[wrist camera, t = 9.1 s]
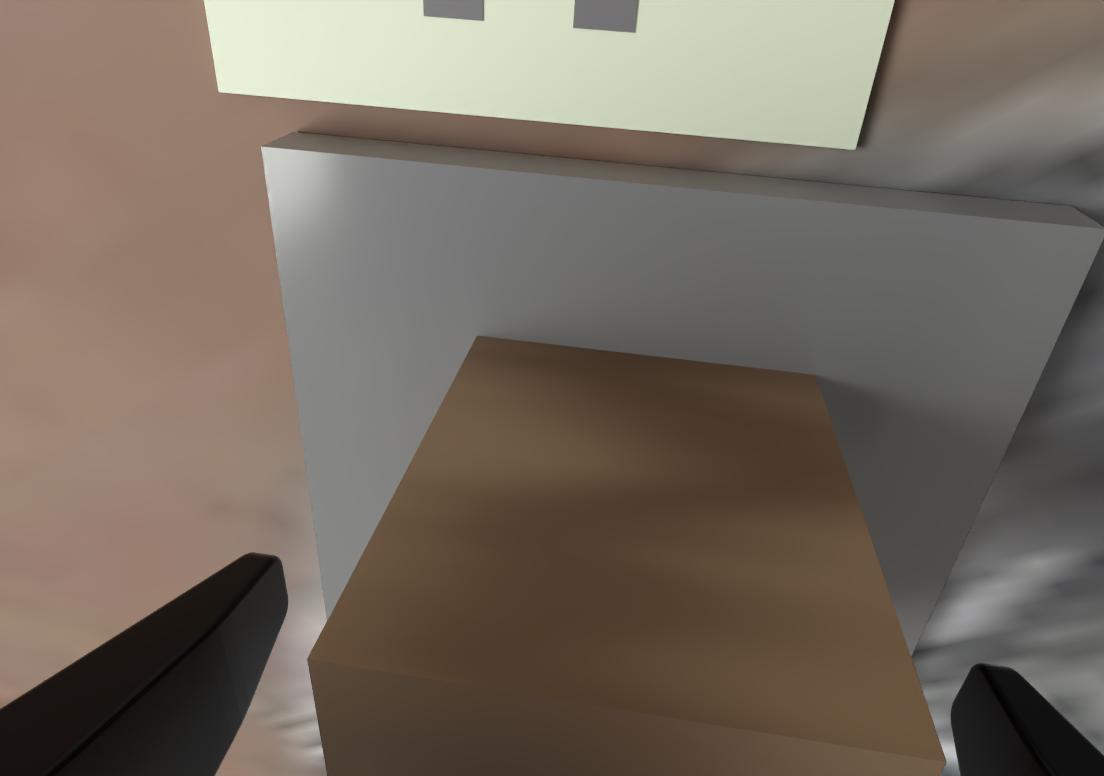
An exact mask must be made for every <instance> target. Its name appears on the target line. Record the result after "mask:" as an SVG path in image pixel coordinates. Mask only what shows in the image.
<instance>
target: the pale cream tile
mask: <svg viewBox="0 0 1104 776" xmlns="http://www.w3.org/2000/svg"><path fill="white" fill-rule="evenodd" d="M894 1H895V0H204V3H205V9H206V16H207V22H208V28H209V34H210V40H211V46H212V53H213V59H214V65H215V71H216V77H217V83H218V90H219V92H224V93H235V94H246V95H257V96H268V97H279V98H290V99H301V100H312V101H323V102H334V103H345V104H356V105H367V106H378V107H389V108H400V109H411V110H422V111H433V112H444V113H455V114H466V115H477V116H488V117H499V118H510V119H521V120H532V121H543V122H554V123H565V124H576V125H587V126H598V127H609V128H620V129H631V130H642V131H653V132H664V133H675V134H686V135H697V136H708V137H719V138H730V139H741V140H752V141H763V142H774V143H785V144H796V145H807V146H818V147H829V148H840V149H851V150H855V149H856V145H857V142H858V138H859V134H860V130H861V127H862V123H863V119H864V115H865V111H866V108H867V104H868V100H869V96H870V92H871V89H872V85H873V81H874V77H875V73H876V70H877V66H878V62H879V58H880V55H881V51H882V47H883V43H884V39H885V36H886V32H887V28H888V24H889V20H890V17H891V13H892V9H893V5H894Z"/></svg>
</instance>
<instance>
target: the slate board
mask: <svg viewBox="0 0 1104 776" xmlns="http://www.w3.org/2000/svg"><path fill="white" fill-rule="evenodd" d="M261 149H262V156H263V163H264V170H265V177H266V185H267V192H268V199H269V206H270V213H271V221H272V228H273V235H274V242H275V249H276V256H277V264H278V271H279V278H280V285H281V292H282V300H283V307H284V314H285V321H286V328H287V336H288V343H289V350H290V357H291V364H292V371H293V379H294V386H295V393H296V400H297V407H298V415H299V422H300V429H301V436H302V443H303V451H304V458H305V465H306V472H307V479H308V486H309V494H310V501H311V508H312V515H313V522H314V530H315V537H316V544H317V551H318V558H319V566H320V573H321V580H322V587H323V594H324V601H325V609H326V616H327V621H328V619H329V617H330V615H331V613H332V611H333V609H334V607H335V605H336V603H337V602H338V600H339V598H340V596H341V594H342V592H343V590H344V588H345V586H346V584H347V582H348V581H349V579H350V577H351V575H352V573H353V571H354V569H355V567H356V565H357V563H358V561H359V560H360V558H361V556H362V554H363V552H364V550H365V548H366V546H367V544H368V542H369V541H370V539H371V537H372V535H373V533H374V531H375V529H376V527H377V525H378V523H379V521H380V520H381V518H382V516H383V514H384V512H385V510H386V508H387V506H388V504H389V502H390V500H391V499H392V497H393V495H394V493H395V491H396V489H397V487H398V485H399V483H400V481H401V480H402V478H403V476H404V474H405V472H406V470H407V468H408V466H409V464H410V462H411V460H412V459H413V457H414V455H415V453H416V451H417V449H418V447H419V445H420V443H421V441H422V439H423V438H424V436H425V434H426V432H427V430H428V428H429V426H430V424H431V422H432V420H433V418H434V417H435V415H436V413H437V411H438V409H439V407H440V405H441V403H442V401H443V399H444V398H445V396H446V394H447V392H448V390H449V388H450V386H451V384H452V382H453V380H454V378H455V377H456V375H457V373H458V371H459V369H460V367H461V365H462V363H463V361H464V359H465V357H466V356H467V354H468V352H469V350H470V348H471V346H472V344H473V342H474V340H475V338H476V336H484V337H493V338H501V339H510V340H519V341H527V342H536V343H545V344H553V345H562V346H571V347H579V348H588V349H597V350H606V351H614V352H623V353H632V354H640V355H649V356H658V357H666V358H675V359H684V360H692V361H701V362H710V363H718V364H727V365H736V366H744V367H753V368H762V369H770V370H779V371H788V372H797V373H805V374H814V375H816V378H817V381H818V384H819V387H820V390H821V393H822V396H823V399H824V402H825V405H826V408H827V411H828V413H829V416H830V419H831V422H832V425H833V428H834V431H835V434H836V437H837V440H838V443H839V446H840V449H841V452H842V455H843V458H844V461H845V464H846V467H847V470H848V473H849V475H850V478H851V481H852V484H853V487H854V490H855V493H856V496H857V499H858V502H859V505H860V508H861V511H862V514H863V517H864V520H865V523H866V526H867V529H868V532H869V534H870V537H871V540H872V543H873V546H874V549H875V552H876V555H877V558H878V561H879V564H880V567H881V570H882V573H883V576H884V579H885V582H886V585H887V588H888V591H889V594H890V596H891V599H892V602H893V605H894V608H895V611H896V614H897V617H898V620H899V623H900V626H901V629H902V632H903V635H904V638H905V641H906V644H907V647H908V650H909V653H910V655H911V656H912V654H913V652H914V650H915V648H916V646H917V643H918V641H919V639H920V637H921V635H922V632H923V630H924V628H925V626H926V624H927V622H928V619H929V617H930V615H931V613H932V611H933V609H934V606H935V604H936V602H937V600H938V598H939V596H940V593H941V591H942V589H943V587H944V585H945V582H946V580H947V578H948V576H949V574H950V572H951V569H952V567H953V565H954V563H955V561H956V559H957V556H958V554H959V552H960V550H961V548H962V546H963V543H964V541H965V539H966V537H967V535H968V532H969V530H970V528H971V526H972V524H973V522H974V519H975V517H976V515H977V513H978V511H979V509H980V506H981V504H982V502H983V500H984V498H985V496H986V493H987V491H988V489H989V487H990V485H991V482H992V480H993V478H994V476H995V474H996V472H997V469H998V467H999V465H1000V463H1001V461H1002V459H1003V456H1004V454H1005V452H1006V450H1007V448H1008V446H1009V443H1010V441H1011V439H1012V437H1013V435H1014V432H1015V430H1016V428H1017V426H1018V424H1019V422H1020V419H1021V417H1022V415H1023V413H1024V411H1025V409H1026V406H1027V404H1028V402H1029V400H1030V398H1031V396H1032V393H1033V391H1034V389H1035V387H1036V385H1037V382H1038V380H1039V378H1040V376H1041V374H1042V372H1043V369H1044V367H1045V365H1046V363H1047V361H1048V359H1049V356H1050V354H1051V352H1052V350H1053V348H1054V346H1055V343H1056V341H1057V339H1058V337H1059V335H1060V332H1061V330H1062V328H1063V326H1064V324H1065V322H1066V319H1067V317H1068V315H1069V313H1070V311H1071V309H1072V306H1073V304H1074V302H1075V300H1076V298H1077V296H1078V293H1079V291H1080V289H1081V287H1082V285H1083V282H1084V280H1085V278H1086V276H1087V274H1088V272H1089V269H1090V267H1091V265H1092V263H1093V261H1094V259H1095V256H1096V254H1097V252H1098V250H1099V248H1100V246H1101V243H1102V241H1103V239H1104V226H1102V225H1100V224H1099V223H1097V222H1096V221H1094V220H1092V219H1091V218H1089V217H1088V216H1086V215H1084V214H1083V213H1081V212H1079V211H1078V210H1076V209H1075V208H1073V207H1071V206H1065V205H1055V204H1044V203H1034V202H1023V201H1013V200H1002V199H992V198H981V197H971V196H960V195H950V194H939V193H929V192H918V191H908V190H897V189H887V188H876V187H866V186H856V185H845V184H835V183H824V182H814V181H803V180H793V179H782V178H772V177H761V176H751V175H740V174H730V173H719V172H709V171H698V170H688V169H677V168H667V167H656V166H646V165H635V164H625V163H614V162H604V161H593V160H583V159H572V158H562V157H551V156H541V155H530V154H520V153H509V152H499V151H488V150H478V149H467V148H457V147H446V146H436V145H425V144H415V143H404V142H394V141H384V140H373V139H363V138H352V137H342V136H331V135H321V134H310V133H300V132H292V133H290V134H288V135H286V136H283V137H281V138H279V139H277V140H275V141H272V142H270V143H268V144H266V145H264V146H261Z"/></svg>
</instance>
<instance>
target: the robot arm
mask: <svg viewBox="0 0 1104 776" xmlns="http://www.w3.org/2000/svg"><path fill="white" fill-rule="evenodd" d="M287 608H288V594H287V589H286V583H285V577H284V571H283V566H282V562H281V560H280V559H279V558H278V557H277V556H274V555H268V554H261V553H254V552H252V553H248V554H245V555H243V556H242V557H240V558H238V559H237V560H235V561H234V562H232V563H231V564H229V565H227V566H226V567H224V568H223V569H221V570H219V571H218V572H216V573H215V574H213V575H212V576H210V577H208V578H207V579H205V580H204V581H202V582H200V583H199V584H197V585H196V586H194V587H193V588H191V589H189V590H188V591H186V592H185V593H183V594H181V595H180V596H178V597H177V598H175V599H174V600H172V601H170V602H169V603H167V604H166V605H164V606H162V607H161V608H159V609H158V610H156V611H155V612H153V613H151V614H150V615H148V616H147V617H145V618H143V619H142V620H140V621H139V622H137V623H136V624H134V625H132V626H131V627H129V628H128V629H126V630H124V631H123V632H121V633H120V634H118V635H117V636H115V637H113V638H112V639H110V640H109V641H107V642H105V643H104V644H102V645H101V646H99V647H98V648H96V649H94V650H93V651H91V652H90V653H88V654H86V655H85V656H83V657H82V658H80V659H79V660H77V661H75V662H74V663H72V664H71V665H69V666H67V667H66V668H64V669H63V670H61V671H60V672H58V673H56V674H55V675H53V676H52V677H50V678H48V679H47V680H45V681H44V682H42V683H41V684H39V685H37V686H36V687H34V688H33V689H31V690H29V691H28V692H26V693H25V694H23V695H22V696H20V697H18V698H17V699H15V700H14V701H12V702H10V703H9V704H7V705H6V706H4V707H3V708H1V709H0V776H215V775H216V773H217V771H218V769H219V767H220V765H221V763H222V761H223V759H224V757H225V756H226V754H227V752H228V750H229V748H230V746H231V744H232V742H233V740H234V738H235V736H236V734H237V732H238V730H239V728H240V726H241V724H242V722H243V720H244V718H245V715H246V713H247V711H248V708H249V706H250V704H251V701H252V699H253V696H254V694H255V691H256V689H257V686H258V684H259V681H260V679H261V676H262V674H263V671H264V669H265V666H266V664H267V661H268V659H269V656H270V654H271V651H272V649H273V646H274V644H275V641H276V639H277V636H278V634H279V631H280V629H281V626H282V624H283V621H284V619H285V616H286V613H287ZM951 726H952V731H953V737H954V742H955V748H956V754H957V759H958V765H959V771H960V776H1104V755H1103V754H1102V753H1101V752H1100V751H1099V750H1097V749H1096V748H1095V747H1094V746H1093V745H1092V744H1091V743H1090V742H1089V741H1088V740H1087V739H1086V738H1085V737H1084V736H1083V735H1082V734H1081V733H1080V732H1079V731H1078V730H1077V729H1076V728H1075V727H1074V726H1073V725H1072V724H1071V723H1070V722H1069V721H1068V720H1067V719H1065V718H1064V717H1063V716H1062V715H1061V714H1060V713H1059V712H1058V711H1057V710H1056V709H1055V708H1054V707H1053V706H1052V705H1051V704H1050V703H1049V702H1048V701H1047V700H1046V699H1045V698H1044V697H1043V696H1042V695H1041V694H1040V693H1039V692H1038V691H1037V690H1036V689H1035V688H1033V687H1032V686H1031V685H1030V684H1029V683H1028V682H1027V681H1026V680H1025V679H1024V678H1023V677H1022V676H1021V675H1020V674H1019V673H1018V672H1016V671H1015V670H1013V669H1011V668H1009V667H1004V666H998V665H991V664H985V663H978V664H976V665H974V666H973V667H972V668H971V670H970V672H969V673H968V675H967V677H966V679H965V681H964V683H963V685H962V687H961V689H960V690H959V692H958V694H957V696H956V698H955V700H954V702H953V705H952V709H951Z"/></svg>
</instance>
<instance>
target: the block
mask: <svg viewBox="0 0 1104 776" xmlns="http://www.w3.org/2000/svg"><path fill="white" fill-rule="evenodd" d="M307 660H308V666H309V672H310V678H311V683H312V689H313V695H314V701H315V707H316V713H317V718H318V724H319V730H320V736H321V742H322V748H323V753H324V759H325V765H326V771H327V776H939V775H940V774H941V772H942V770H943V768H944V766H945V765H946V763H947V762H946V759H945V756H944V753H943V750H942V747H941V744H940V741H939V738H938V735H937V732H936V729H935V726H934V723H933V720H932V717H931V715H930V712H929V709H928V706H927V703H926V700H925V697H924V694H923V691H922V688H921V685H920V682H919V679H918V676H917V673H916V670H915V667H914V664H913V661H912V658H911V655H910V653H909V650H908V647H907V644H906V641H905V638H904V635H903V632H902V629H901V626H900V623H899V620H898V617H897V614H896V611H895V608H894V605H893V602H892V599H891V596H890V594H889V591H888V588H887V585H886V582H885V579H884V576H883V573H882V570H881V567H880V564H879V561H878V558H877V555H876V552H875V549H874V546H873V543H872V540H871V537H870V534H869V532H868V529H867V526H866V523H865V520H864V517H863V514H862V511H861V508H860V505H859V502H858V499H857V496H856V493H855V490H854V487H853V484H852V481H851V478H850V475H849V473H848V470H847V467H846V464H845V461H844V458H843V455H842V452H841V449H840V446H839V443H838V440H837V437H836V434H835V431H834V428H833V425H832V422H831V419H830V416H829V413H828V411H827V408H826V405H825V402H824V399H823V396H822V393H821V390H820V387H819V384H818V381H817V378H816V375H814V374H805V373H797V372H788V371H779V370H770V369H762V368H753V367H744V366H736V365H727V364H718V363H710V362H701V361H692V360H684V359H675V358H666V357H658V356H649V355H640V354H632V353H623V352H614V351H606V350H597V349H588V348H579V347H571V346H562V345H553V344H545V343H536V342H527V341H519V340H510V339H501V338H493V337H484V336H476V338H475V340H474V342H473V344H472V346H471V348H470V350H469V352H468V354H467V356H466V357H465V359H464V361H463V363H462V365H461V367H460V369H459V371H458V373H457V375H456V377H455V378H454V380H453V382H452V384H451V386H450V388H449V390H448V392H447V394H446V396H445V398H444V399H443V401H442V403H441V405H440V407H439V409H438V411H437V413H436V415H435V417H434V418H433V420H432V422H431V424H430V426H429V428H428V430H427V432H426V434H425V436H424V438H423V439H422V441H421V443H420V445H419V447H418V449H417V451H416V453H415V455H414V457H413V459H412V460H411V462H410V464H409V466H408V468H407V470H406V472H405V474H404V476H403V478H402V480H401V481H400V483H399V485H398V487H397V489H396V491H395V493H394V495H393V497H392V499H391V500H390V502H389V504H388V506H387V508H386V510H385V512H384V514H383V516H382V518H381V520H380V521H379V523H378V525H377V527H376V529H375V531H374V533H373V535H372V537H371V539H370V541H369V542H368V544H367V546H366V548H365V550H364V552H363V554H362V556H361V558H360V560H359V561H358V563H357V565H356V567H355V569H354V571H353V573H352V575H351V577H350V579H349V581H348V582H347V584H346V586H345V588H344V590H343V592H342V594H341V596H340V598H339V600H338V602H337V603H336V605H335V607H334V609H333V611H332V613H331V615H330V617H329V619H328V621H327V623H326V624H325V626H324V628H323V630H322V632H321V634H320V636H319V638H318V640H317V642H316V643H315V645H314V647H313V649H312V651H311V653H310V655H309V657H308V659H307Z"/></svg>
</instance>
